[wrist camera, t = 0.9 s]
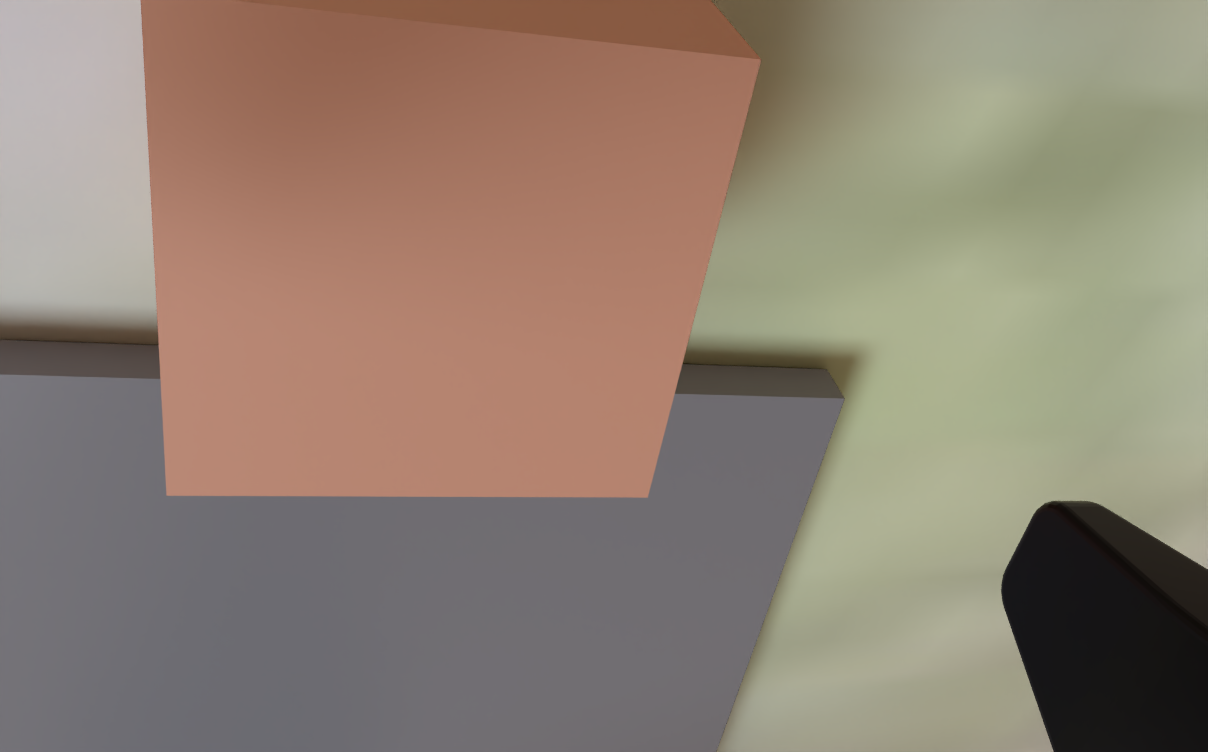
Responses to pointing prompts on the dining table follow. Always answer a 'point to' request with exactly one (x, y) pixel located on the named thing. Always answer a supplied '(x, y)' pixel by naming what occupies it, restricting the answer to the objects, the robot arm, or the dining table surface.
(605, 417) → the terracotta block
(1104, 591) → the robot arm
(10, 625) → the slate plate
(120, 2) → the dining table surface
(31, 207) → the dining table surface
